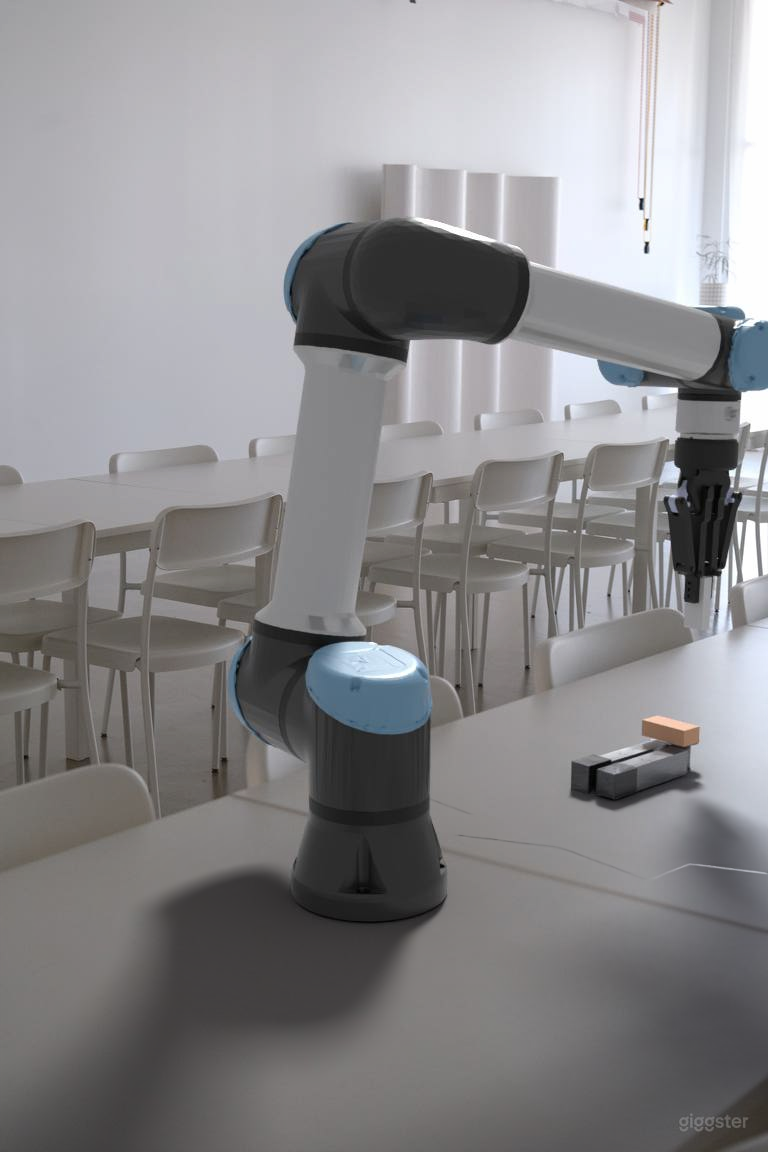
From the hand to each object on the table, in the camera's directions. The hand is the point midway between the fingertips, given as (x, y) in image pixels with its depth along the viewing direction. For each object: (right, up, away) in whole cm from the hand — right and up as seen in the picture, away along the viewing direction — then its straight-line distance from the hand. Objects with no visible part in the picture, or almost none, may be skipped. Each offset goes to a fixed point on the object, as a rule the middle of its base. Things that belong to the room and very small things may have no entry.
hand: (696, 627), depth 171 cm
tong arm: (-7, -18, -4) cm, 20 cm away
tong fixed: (-8, -18, -3) cm, 20 cm away
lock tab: (-3, -14, -1) cm, 14 cm away
